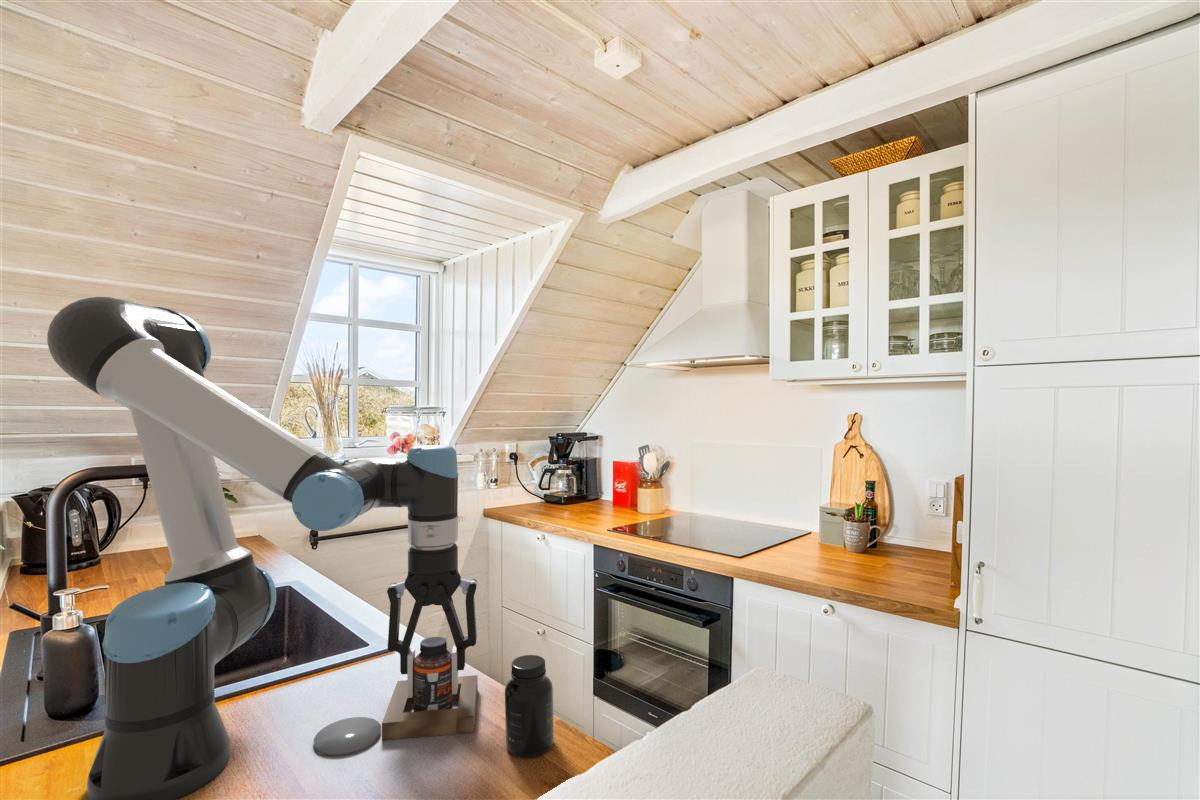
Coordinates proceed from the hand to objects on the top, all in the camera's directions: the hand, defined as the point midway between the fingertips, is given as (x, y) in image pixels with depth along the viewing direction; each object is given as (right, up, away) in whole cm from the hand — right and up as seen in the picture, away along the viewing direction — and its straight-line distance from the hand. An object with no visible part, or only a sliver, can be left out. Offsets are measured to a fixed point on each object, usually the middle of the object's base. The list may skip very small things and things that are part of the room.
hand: (433, 691), depth 94 cm
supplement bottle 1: (0, -4, 0) cm, 4 cm away
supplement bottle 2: (+16, -4, -9) cm, 19 cm away
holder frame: (0, -3, 0) cm, 3 cm away
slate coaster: (-11, -3, -7) cm, 13 cm away
